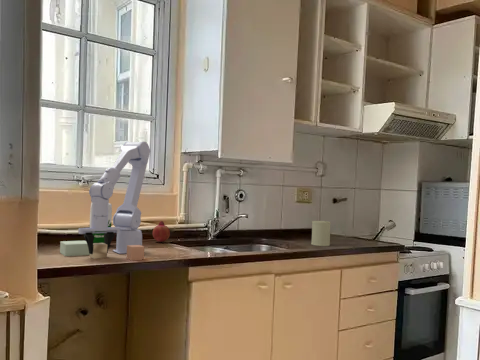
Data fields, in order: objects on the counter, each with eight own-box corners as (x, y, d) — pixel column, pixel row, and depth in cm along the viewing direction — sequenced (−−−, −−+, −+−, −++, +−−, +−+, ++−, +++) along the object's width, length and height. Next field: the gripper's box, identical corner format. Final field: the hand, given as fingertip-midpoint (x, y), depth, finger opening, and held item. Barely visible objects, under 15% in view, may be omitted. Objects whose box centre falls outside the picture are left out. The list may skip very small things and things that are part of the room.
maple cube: (102, 255, 171) (103, 242, 171) (106, 257, 167) (107, 244, 167) (89, 256, 168) (90, 243, 168) (93, 258, 164) (94, 245, 164)
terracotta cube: (139, 257, 170) (139, 244, 170) (144, 259, 166) (144, 246, 166) (126, 258, 167) (127, 245, 167) (131, 260, 163) (131, 247, 163)
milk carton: (108, 243, 202) (110, 198, 202) (111, 246, 194) (113, 199, 194) (87, 244, 199) (89, 197, 199) (90, 247, 190) (92, 198, 191)
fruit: (148, 242, 211) (149, 220, 211) (157, 240, 219) (157, 219, 219) (164, 244, 209) (165, 222, 209) (172, 242, 217) (173, 220, 217)
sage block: (84, 252, 179) (84, 240, 179) (90, 255, 172) (90, 243, 172) (59, 253, 174) (60, 241, 174) (65, 256, 167) (65, 244, 167)
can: (326, 246, 223) (327, 221, 223) (308, 244, 227) (309, 220, 227) (332, 244, 231) (333, 220, 231) (315, 243, 235) (315, 219, 235)
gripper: (115, 214, 175) (114, 250, 175) (76, 215, 166) (74, 252, 166) (122, 216, 169) (120, 253, 169) (82, 216, 161) (80, 255, 161)
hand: (98, 253), depth 167 cm, fingers closed on maple cube, 5 cm apart
